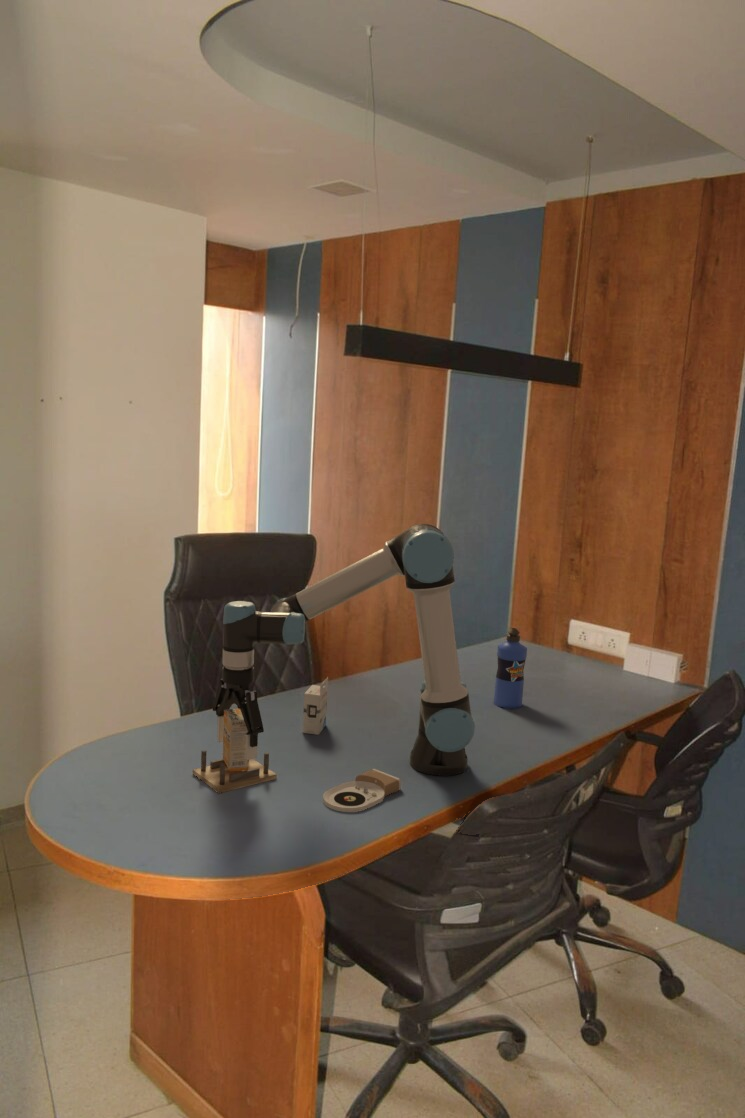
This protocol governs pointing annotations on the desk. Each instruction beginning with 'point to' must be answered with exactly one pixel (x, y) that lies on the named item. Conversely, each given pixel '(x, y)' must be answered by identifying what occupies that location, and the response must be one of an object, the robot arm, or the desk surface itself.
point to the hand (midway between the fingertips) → (236, 749)
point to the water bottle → (510, 672)
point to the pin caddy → (233, 774)
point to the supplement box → (234, 740)
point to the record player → (361, 791)
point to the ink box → (315, 708)
